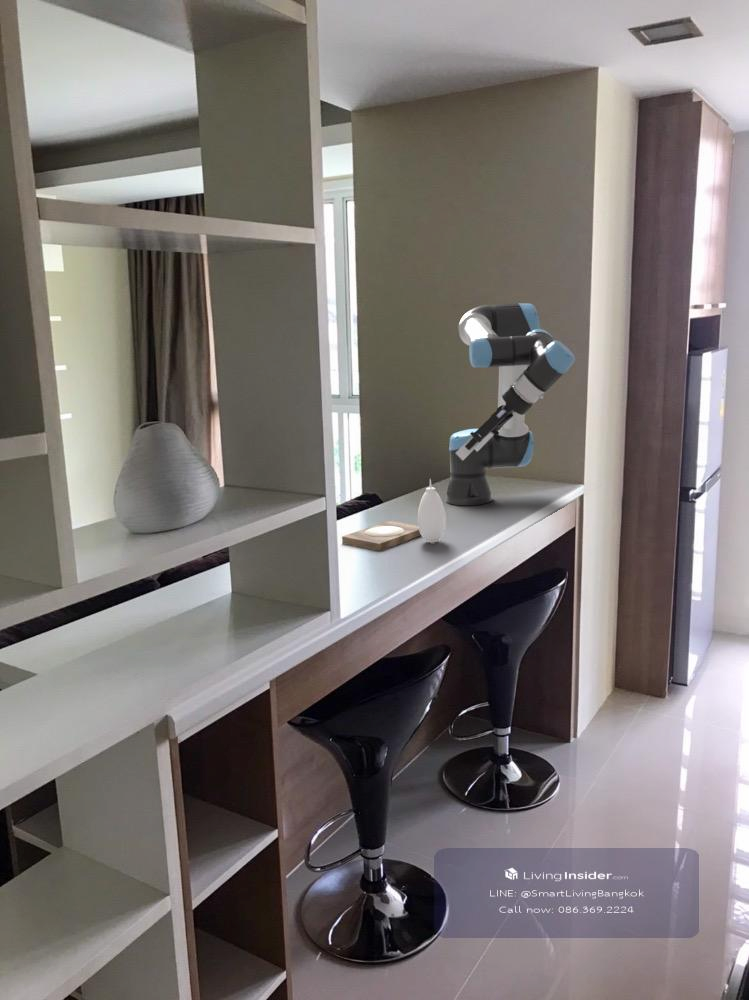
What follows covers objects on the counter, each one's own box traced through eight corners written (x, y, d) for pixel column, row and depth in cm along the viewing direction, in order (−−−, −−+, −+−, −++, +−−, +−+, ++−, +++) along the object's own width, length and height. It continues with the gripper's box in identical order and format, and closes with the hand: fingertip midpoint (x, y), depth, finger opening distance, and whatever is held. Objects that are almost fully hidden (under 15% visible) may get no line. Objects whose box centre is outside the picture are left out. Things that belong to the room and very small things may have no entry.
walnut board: (389, 527, 247) (389, 520, 246) (426, 534, 237) (426, 526, 237) (342, 543, 232) (342, 535, 232) (379, 550, 223) (379, 543, 223)
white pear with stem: (445, 546, 224) (443, 481, 220) (416, 546, 225) (413, 481, 221) (448, 538, 231) (446, 475, 227) (420, 538, 233) (417, 475, 229)
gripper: (522, 410, 198) (463, 471, 207) (543, 399, 220) (489, 454, 229) (500, 388, 199) (442, 449, 208) (523, 379, 221) (470, 435, 230)
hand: (466, 452), depth 219 cm, fingers open, 13 cm apart
